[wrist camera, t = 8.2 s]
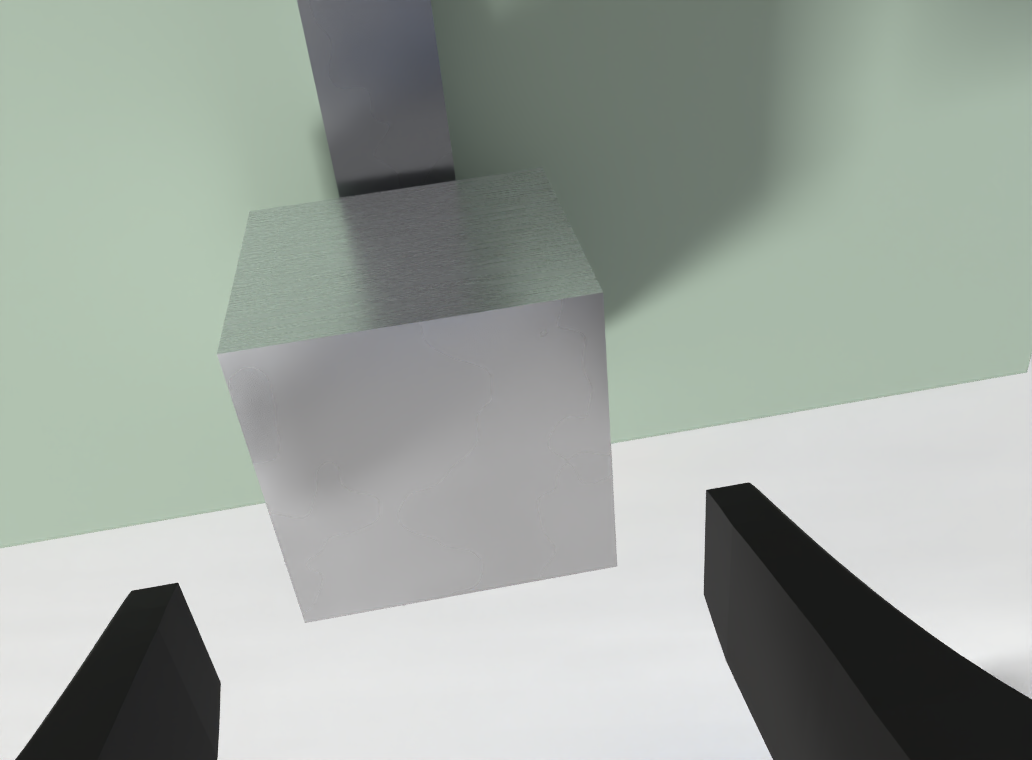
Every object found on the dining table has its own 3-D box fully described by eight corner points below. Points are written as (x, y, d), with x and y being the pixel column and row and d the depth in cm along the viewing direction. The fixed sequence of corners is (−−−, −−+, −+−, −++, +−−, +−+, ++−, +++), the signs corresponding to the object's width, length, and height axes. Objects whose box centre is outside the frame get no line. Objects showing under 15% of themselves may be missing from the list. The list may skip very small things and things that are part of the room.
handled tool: (447, -657, 12) (485, -821, 9) (546, 373, 22) (582, 484, 18) (50, -624, 12) (-67, -781, 9) (322, 409, 21) (317, 530, 18)
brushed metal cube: (542, 167, 17) (602, 292, 13) (561, 403, 20) (617, 566, 16) (249, 211, 17) (216, 354, 13) (314, 445, 20) (305, 623, 16)
